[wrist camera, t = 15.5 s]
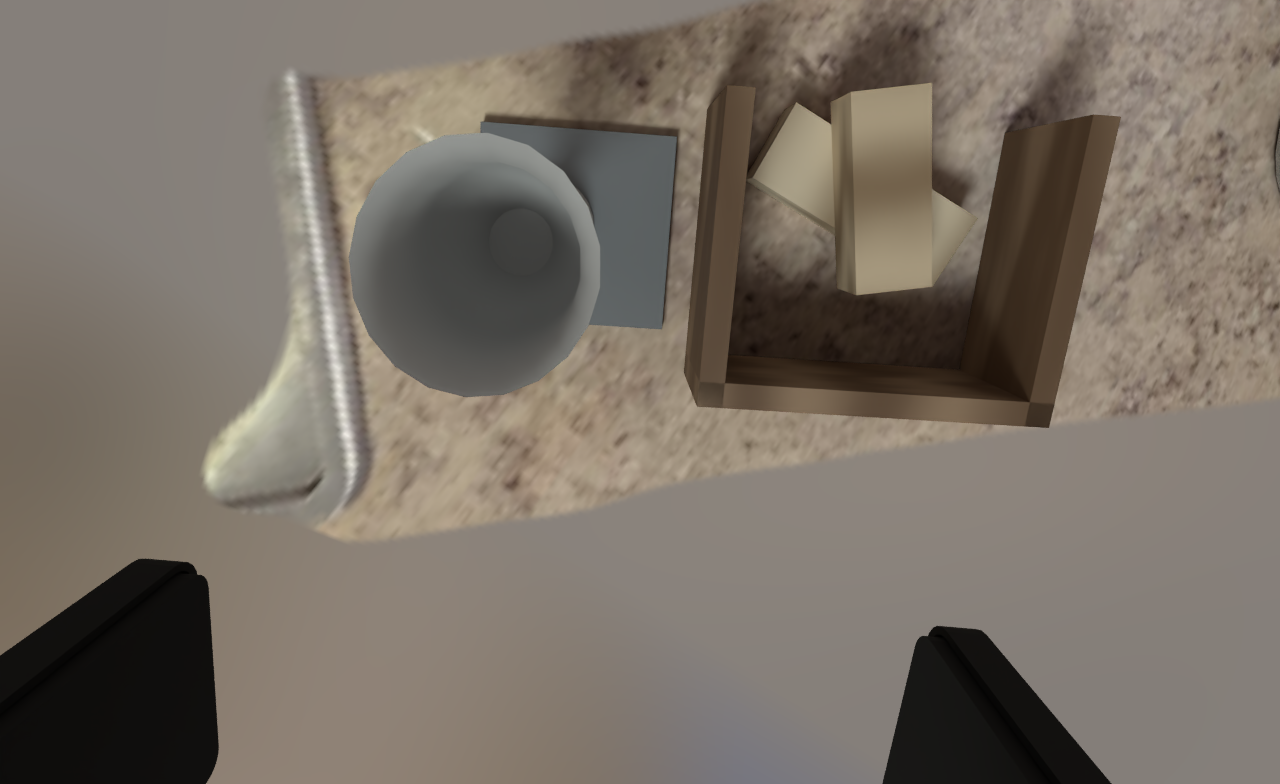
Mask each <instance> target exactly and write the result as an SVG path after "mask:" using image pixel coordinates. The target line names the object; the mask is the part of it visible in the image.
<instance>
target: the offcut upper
mask: <svg viewBox="0 0 1280 784" xmlns="http://www.w3.org/2000/svg"><path fill="white" fill-rule="evenodd" d="M831 129H832V159H833V188H834V218H835V247H836V276H837V289H840V290H843V291H846V292H849V293H851V294H854V295H863V294H872V293H881V292H890V291H899V290H907V289H916V288H925V287H932V83H925V84H916V85H907V86H898V87H890V88H881V89H872V90H863V91H854V92H850V93H848V94H846V95H844V96H842V97H840V98H838V99H836V100H834V101H832V102H831Z"/></svg>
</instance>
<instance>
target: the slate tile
mask: <svg viewBox="0 0 1280 784" xmlns="http://www.w3.org/2000/svg"><path fill="white" fill-rule="evenodd" d="M481 133H490V134H493V135H497V136H500V137H503V138H506V139H510V140H513V141H516V142H520V143H523V144H526V145H529V146H530V147H532V148H533V149H534V150H536V151H537V152H538V153H540V154H541V155H543V156H544V157H545V158H547V159H548V160H549V161H551V162H552V163H553V164H555V165H556V166H557V167H559V168H560V169H561V170H563V171H564V172H565V174H566V175H567V177H568V178H569V180H570V181H571V183H572V184H573V185H574V186H575V187H576V188H577V189H579V191H580V192H581V193H582V195H583V196H584V197H585V199H586V200H587V201H588V203H589V206H590V209H591V212H592V215H593V221H594V228H595V231H596V234H597V238H598V241H599V244H600V289H599V293H598V296H597V299H596V303H595V306H594V309H593V312H592V316H591V319H590V322H589V325H604V326H619V327H635V328H650V329H662V320H663V307H664V294H665V282H666V269H667V256H668V243H669V231H670V218H671V205H672V193H673V180H674V167H675V154H676V142H677V137H674V136H661V135H648V134H635V133H622V132H609V131H596V130H584V129H571V128H558V127H545V126H532V125H519V124H506V123H493V122H481Z"/></svg>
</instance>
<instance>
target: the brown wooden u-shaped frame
mask: <svg viewBox="0 0 1280 784" xmlns="http://www.w3.org/2000/svg"><path fill="white" fill-rule="evenodd" d="M755 91H756V87H745V86H733V85H727V86H726V87H725V89H724V90H723V91H722V92H721V93H720V95H719V96H718V97H717V98H716V100H715V101H714V102H713V103H712V104H711V106H710V107H709V108H708V109H707V118H706V130H705V141H704V152H703V164H702V175H701V186H700V197H699V209H698V220H697V231H696V243H695V254H694V265H693V277H692V288H691V299H690V311H689V322H688V333H687V345H686V356H685V367H684V374H685V377H686V379H687V382H688V384H689V387H690V390H691V392H692V395H693V397H694V400H695V403H696V405H697V407H714V408H730V409H747V410H763V411H780V412H796V413H813V414H829V415H846V416H862V417H879V418H895V419H912V420H928V421H945V422H961V423H978V424H994V425H1011V426H1027V427H1044V428H1049V425H1050V421H1051V416H1052V412H1053V408H1054V404H1055V399H1056V395H1057V391H1058V386H1059V382H1060V378H1061V373H1062V369H1063V365H1064V360H1065V356H1066V352H1067V347H1068V343H1069V339H1070V334H1071V330H1072V326H1073V321H1074V317H1075V313H1076V308H1077V304H1078V300H1079V296H1080V291H1081V287H1082V283H1083V278H1084V274H1085V270H1086V265H1087V261H1088V257H1089V252H1090V248H1091V244H1092V239H1093V235H1094V231H1095V226H1096V222H1097V218H1098V213H1099V209H1100V205H1101V201H1102V196H1103V192H1104V188H1105V183H1106V179H1107V175H1108V170H1109V166H1110V162H1111V157H1112V153H1113V149H1114V144H1115V140H1116V136H1117V131H1118V127H1119V123H1120V118H1121V117H1117V116H1105V115H1089V116H1085V117H1080V118H1075V119H1070V120H1065V121H1061V122H1056V123H1051V124H1046V125H1041V126H1036V127H1032V128H1027V129H1022V130H1017V131H1012V132H1007V133H1005V136H1004V141H1003V147H1002V152H1001V157H1000V162H999V167H998V173H997V178H996V183H995V188H994V193H993V199H992V204H991V209H990V214H989V219H988V224H987V230H986V235H985V240H984V245H983V250H982V256H981V261H980V266H979V271H978V276H977V282H976V287H975V292H974V297H973V302H972V308H971V313H970V318H969V323H968V328H967V333H966V339H965V344H964V349H963V354H962V359H961V365H960V370H959V369H944V368H928V367H912V366H897V365H881V364H866V363H850V362H834V361H819V360H803V359H787V358H772V357H756V356H740V355H728V349H729V340H730V330H731V321H732V311H733V301H734V292H735V282H736V273H737V263H738V254H739V244H740V234H741V225H742V215H743V206H744V196H745V186H746V177H747V167H748V158H749V148H750V139H751V129H752V119H753V110H754V100H755Z"/></svg>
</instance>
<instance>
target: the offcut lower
mask: <svg viewBox="0 0 1280 784" xmlns="http://www.w3.org/2000/svg"><path fill="white" fill-rule="evenodd" d="M746 182H748V183H750V184H751V185H753V186H754V187H756V188H758V189H759V190H761V191H763V192H764V193H766V194H768V195H769V196H771V197H772V198H774V199H776V200H777V201H779V202H781V203H782V204H784V205H786V206H787V207H789V208H790V209H792V210H794V211H795V212H797V213H799V214H800V215H802V216H803V217H805V218H807V219H808V220H810V221H812V222H813V223H815V224H817V225H818V226H820V227H821V228H823V229H825V230H826V231H828V232H830V233H831V234H833V235H835V218H834V188H833V159H832V129H831V124H829V123H828V122H826V121H825V120H823V119H822V118H820V117H819V116H817V115H815V114H814V113H812V112H811V111H809V110H808V109H806V108H804V107H803V106H801V105H800V104H798V103H797V102H796V103H795V104H793V105H792V106H790V107H788V108H787V109H785V110H784V112H783V113H782V115H781V117H780V118H779V120H778V122H777V124H776V125H775V127H774V129H773V131H772V132H771V134H770V136H769V137H768V139H767V141H766V143H765V144H764V146H763V148H762V150H761V151H760V153H759V155H758V156H757V158H756V160H755V162H754V163H753V165H752V167H751V169H750V170H749V172H748V174H747V177H746ZM977 219H978V218H976V217H975V216H973V215H972V214H970V213H969V212H967V211H965V210H964V209H962V208H961V207H959V206H958V205H956V204H954V203H953V202H951V201H950V200H948V199H947V198H945V197H944V196H942V195H940V194H939V193H937V192H936V191H934V190H933V189H932V286H933V285H934V283H935V282H936V280H937V279H938V277H939V276H940V274H941V273H942V271H943V270H944V268H945V267H946V265H947V264H948V262H949V261H950V259H951V258H952V256H953V255H954V253H955V252H956V250H957V249H958V247H959V246H960V244H961V243H962V241H963V240H964V238H965V237H966V235H967V234H968V232H969V231H970V229H971V228H972V226H973V225H974V223H975V222H976V220H977Z"/></svg>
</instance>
